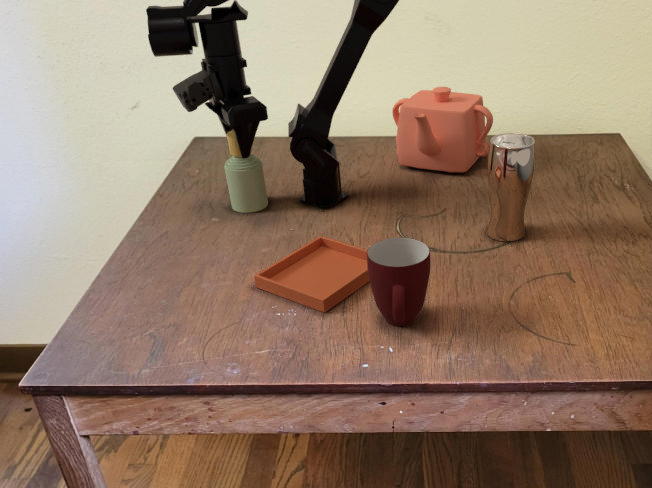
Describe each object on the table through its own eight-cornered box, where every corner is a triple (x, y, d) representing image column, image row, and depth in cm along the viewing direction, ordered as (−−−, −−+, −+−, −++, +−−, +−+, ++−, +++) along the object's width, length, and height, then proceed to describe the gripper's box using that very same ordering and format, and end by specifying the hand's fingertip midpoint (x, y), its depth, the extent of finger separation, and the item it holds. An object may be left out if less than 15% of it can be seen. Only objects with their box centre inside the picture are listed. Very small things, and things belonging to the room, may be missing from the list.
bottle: (249, 195, 130) (238, 128, 122) (275, 202, 127) (265, 134, 120) (224, 208, 126) (211, 139, 118) (250, 216, 123) (238, 146, 116)
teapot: (368, 179, 134) (363, 103, 125) (407, 145, 148) (405, 74, 139) (469, 193, 128) (471, 114, 119) (500, 156, 142) (504, 82, 133)
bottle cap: (255, 153, 120) (252, 133, 118) (236, 158, 119) (232, 138, 117) (246, 147, 123) (243, 127, 121) (226, 152, 121) (222, 132, 119)
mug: (437, 343, 91) (437, 274, 85) (375, 348, 91) (370, 279, 85) (425, 300, 100) (425, 234, 93) (368, 305, 99) (364, 239, 93)
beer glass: (533, 228, 116) (541, 135, 107) (520, 246, 111) (528, 151, 102) (492, 221, 119) (497, 130, 109) (478, 238, 114) (482, 145, 104)
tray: (321, 247, 113) (320, 235, 112) (388, 268, 107) (387, 256, 106) (256, 287, 104) (253, 275, 103) (324, 313, 98) (323, 300, 97)
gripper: (157, 47, 114) (179, 145, 124) (186, 74, 101) (208, 180, 111) (224, 38, 118) (240, 133, 128) (261, 62, 105) (275, 166, 115)
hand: (239, 152), depth 121 cm, fingers open, 6 cm apart
